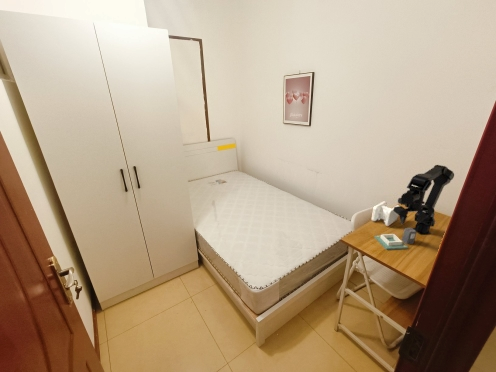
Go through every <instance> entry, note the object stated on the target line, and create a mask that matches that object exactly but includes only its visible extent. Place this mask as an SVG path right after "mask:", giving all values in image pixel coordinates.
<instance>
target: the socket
mask: <svg viewBox="0 0 496 372" xmlns="http://www.w3.org/2000/svg"><path fill="white" fill-rule="evenodd" d="M380 235H381V237H380V238H381V239H382V240H383V241H384V242H385V243H386V244H387V245H388V246H393V245H402V242H403V240H402V239H400V238H399V237H398V236H397V235H396V234H395V233H389V234H388V233H385V234H380ZM386 238H393V239H394V240H395V241H388V240H387V239H386Z"/></svg>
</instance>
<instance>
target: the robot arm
mask: <svg viewBox="0 0 496 372" xmlns="http://www.w3.org/2000/svg"><path fill="white" fill-rule="evenodd" d="M454 177H455V173H454V171H453V170H451V169H449V168H448V167H447V166H445V165H440V164H435V165H434V166H433V167H432V168H431V169H429V170H428V171H426V172H424V173H417V174H415V175H414V176H412V177H411V179H410V181H409V183H408V185H407V186H406V189H409V190H407V191H406V192H403V193H402V195H401V197H398V199H397V204H398V205H399V204H400V205H403V206H404V207H403V206H400V205H399V207H395V206H393V207H394V210H393V211H394V212H395V213H397V214H398V218H399V221H400V225H404V223H406V220H407V218H408V214H409V213H413V212H414V213H415V212H416V213H415V214H414V221H415V222H416V223H415V227H412V228H413V229H414V230H415V231H416V232H417V233H418V234H419V235H431V233H432V232H431V231H430V228H431V227H435V224H436V220H435V216H436V214H435V207H436V205H437V202H438V200H439V198H440V196H441V195H442V194H441V193H442V191H443V189H444V187H445V186H447V185H448V184H450V183H451V182H452V180H453V179H454ZM432 184H433V185H432ZM431 185H432V187H431ZM430 187H431V189H430ZM429 189H430V192H429V193H428V196H427V198H426V201H424V198H425V195H426V192H428V190H429Z"/></svg>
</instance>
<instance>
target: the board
mask: <svg viewBox="0 0 496 372" xmlns="http://www.w3.org/2000/svg"><path fill="white" fill-rule="evenodd" d="M381 235H382V234H380V235H378V234H377V235H374V236H373V237H374V239H375V240H376V241H377V242H379V244H380V245H381V246H382V247H383V248H384V249H385V250H386V251H391V250H408V249H409V246H408V245H407V244H406V243H405V242H404V241H402V245H393V246H388V245H387V244H386V243H385V242H384V241H383V240H382V239H381V238H380V237H381ZM386 239H387V240H388V241H395V240H394V239H393V238H386Z"/></svg>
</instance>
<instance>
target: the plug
mask: <svg viewBox="0 0 496 372" xmlns="http://www.w3.org/2000/svg"><path fill="white" fill-rule="evenodd" d="M413 228H414V227H405V228H404V230H403V234H402V238H401V241H402V242H403V243H404V244H405V245H413V244H414V243H415V240H416V236H417V233H418V232H416V231H415V230H414V229H413Z"/></svg>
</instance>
